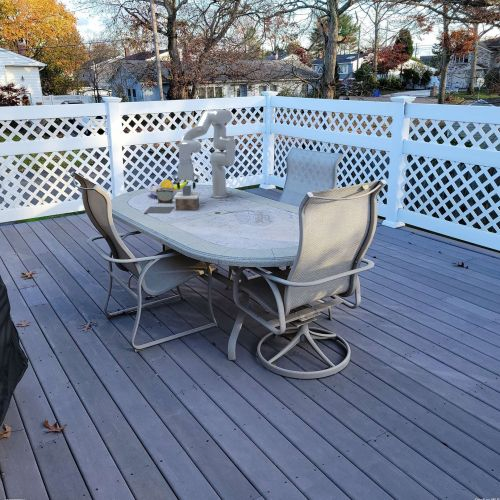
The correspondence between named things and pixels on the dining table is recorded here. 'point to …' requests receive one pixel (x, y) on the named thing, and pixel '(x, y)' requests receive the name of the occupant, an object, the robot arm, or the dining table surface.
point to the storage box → (187, 204)
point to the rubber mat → (158, 210)
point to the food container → (165, 195)
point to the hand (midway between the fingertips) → (186, 188)
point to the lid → (186, 194)
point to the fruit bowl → (167, 184)
